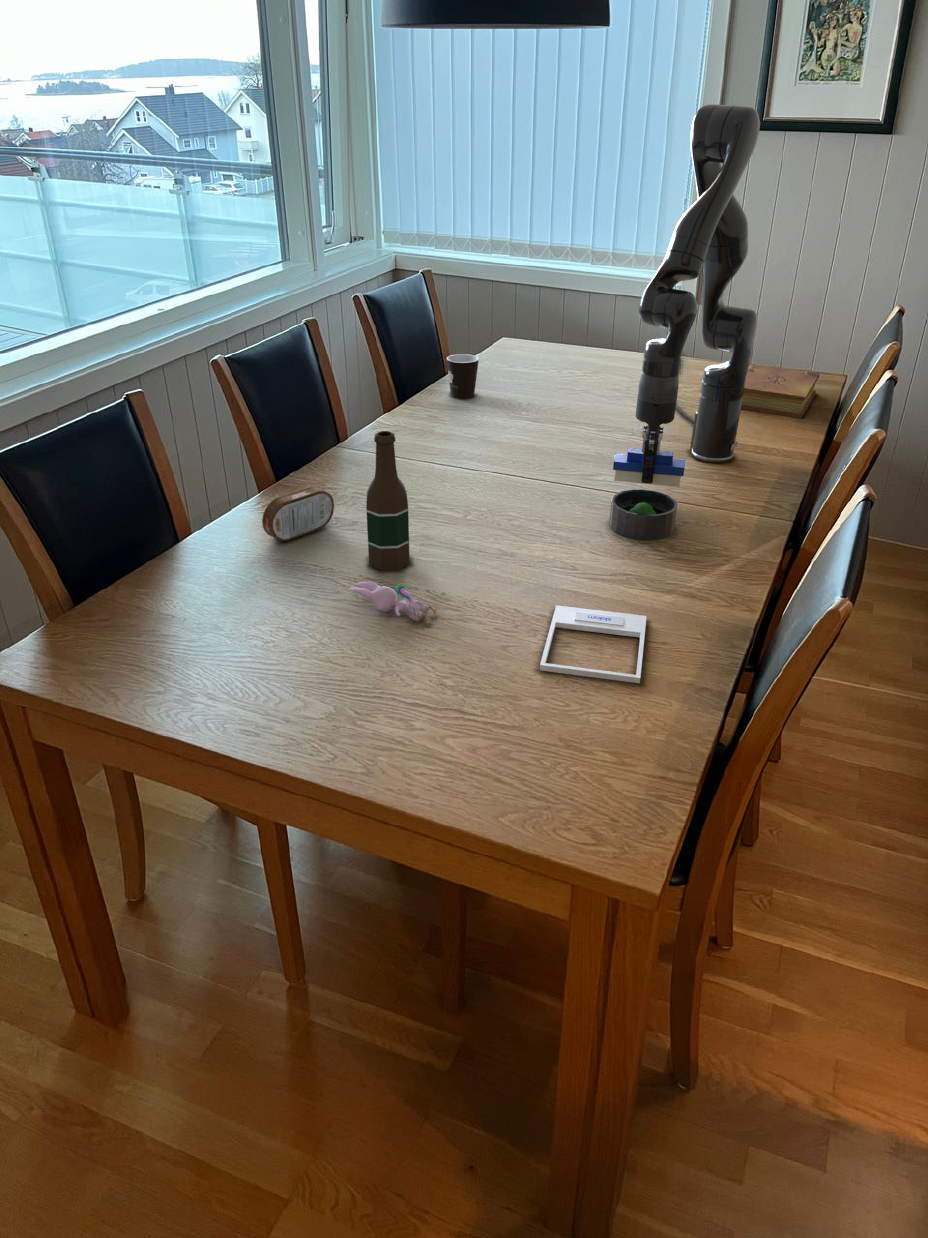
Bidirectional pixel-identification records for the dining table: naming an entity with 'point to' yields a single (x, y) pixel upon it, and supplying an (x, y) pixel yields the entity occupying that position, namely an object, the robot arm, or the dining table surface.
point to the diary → (778, 390)
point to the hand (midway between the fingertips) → (647, 477)
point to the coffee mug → (462, 375)
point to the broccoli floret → (643, 509)
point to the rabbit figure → (393, 600)
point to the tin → (298, 513)
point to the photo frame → (601, 624)
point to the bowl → (643, 515)
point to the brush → (664, 470)
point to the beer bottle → (387, 510)
